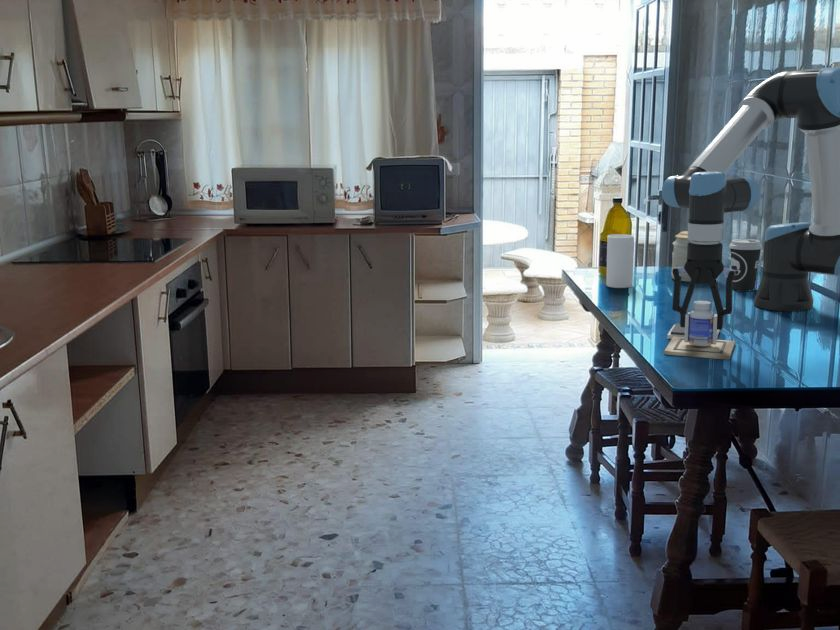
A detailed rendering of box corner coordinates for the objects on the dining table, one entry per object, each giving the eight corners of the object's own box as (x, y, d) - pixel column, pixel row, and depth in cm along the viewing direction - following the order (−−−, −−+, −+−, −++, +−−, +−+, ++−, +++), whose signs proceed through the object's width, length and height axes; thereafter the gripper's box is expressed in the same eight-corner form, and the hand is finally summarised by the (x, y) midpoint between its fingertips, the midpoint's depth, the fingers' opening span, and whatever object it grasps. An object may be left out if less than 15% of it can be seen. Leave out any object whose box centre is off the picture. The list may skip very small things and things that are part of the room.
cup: (636, 284, 276) (637, 234, 273) (627, 288, 269) (628, 238, 266) (611, 282, 280) (612, 233, 277) (602, 286, 274) (603, 236, 270)
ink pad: (719, 331, 213) (719, 325, 213) (714, 342, 203) (715, 335, 203) (673, 328, 217) (674, 322, 217) (667, 338, 208) (667, 332, 207)
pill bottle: (714, 347, 194) (716, 305, 192) (689, 346, 195) (691, 304, 193) (711, 341, 199) (713, 300, 197) (686, 340, 200) (689, 299, 198)
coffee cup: (756, 293, 257) (759, 243, 254) (723, 290, 262) (725, 242, 259) (762, 287, 265) (765, 239, 262) (730, 285, 270) (733, 238, 267)
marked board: (734, 344, 201) (735, 340, 201) (729, 359, 189) (729, 355, 188) (673, 339, 207) (673, 335, 206) (664, 354, 194) (664, 350, 194)
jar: (717, 281, 276) (720, 227, 272) (677, 282, 277) (679, 228, 273) (705, 274, 289) (707, 222, 285) (666, 275, 289) (668, 223, 285)
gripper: (750, 240, 192) (744, 341, 197) (665, 238, 199) (662, 335, 204) (747, 245, 185) (742, 349, 190) (660, 242, 193) (656, 342, 198)
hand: (700, 341), depth 197 cm, fingers open, 5 cm apart
